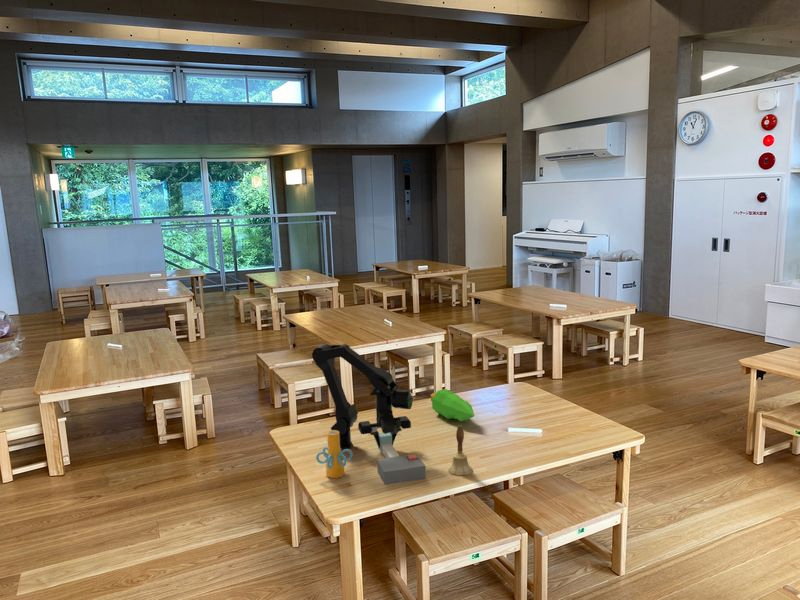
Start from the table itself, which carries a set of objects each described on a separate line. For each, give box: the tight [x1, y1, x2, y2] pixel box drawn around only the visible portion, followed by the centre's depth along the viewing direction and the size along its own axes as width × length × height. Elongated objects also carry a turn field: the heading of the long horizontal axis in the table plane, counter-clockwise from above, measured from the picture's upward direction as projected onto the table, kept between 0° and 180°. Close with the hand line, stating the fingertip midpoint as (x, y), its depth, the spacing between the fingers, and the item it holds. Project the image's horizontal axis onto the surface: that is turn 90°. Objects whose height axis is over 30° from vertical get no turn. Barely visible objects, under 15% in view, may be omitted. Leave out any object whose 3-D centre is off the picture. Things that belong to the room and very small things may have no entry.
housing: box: [376, 453, 427, 486], centre depth 200 cm, size 10×14×5 cm
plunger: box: [406, 453, 417, 461], centre depth 203 cm, size 3×3×5 cm
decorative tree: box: [430, 388, 475, 422], centre depth 248 cm, size 11×12×30 cm
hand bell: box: [447, 424, 474, 477], centre depth 201 cm, size 8×8×16 cm
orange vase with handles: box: [315, 429, 353, 479], centre depth 201 cm, size 12×10×15 cm
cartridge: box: [378, 432, 400, 458], centre depth 213 cm, size 18×4×6 cm, turn 16°
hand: (385, 446), depth 221 cm, fingers closed on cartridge, 4 cm apart
